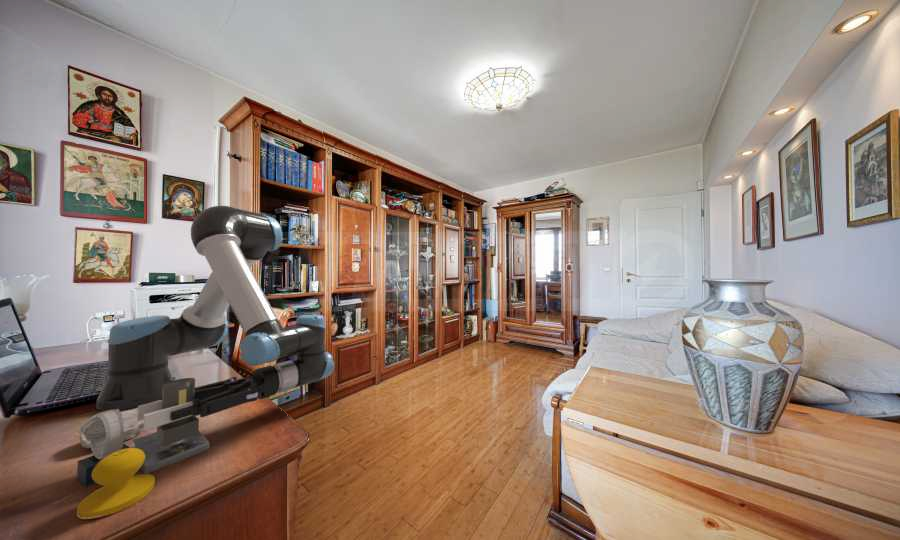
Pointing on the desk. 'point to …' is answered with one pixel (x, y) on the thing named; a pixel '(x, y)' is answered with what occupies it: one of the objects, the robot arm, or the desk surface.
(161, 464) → the hub plate
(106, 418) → the watch
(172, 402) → the cylinder
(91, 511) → the yellow stacked oval discs
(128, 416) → the fossil
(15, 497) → the desk surface
